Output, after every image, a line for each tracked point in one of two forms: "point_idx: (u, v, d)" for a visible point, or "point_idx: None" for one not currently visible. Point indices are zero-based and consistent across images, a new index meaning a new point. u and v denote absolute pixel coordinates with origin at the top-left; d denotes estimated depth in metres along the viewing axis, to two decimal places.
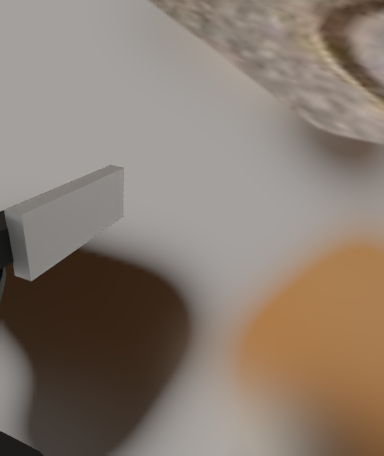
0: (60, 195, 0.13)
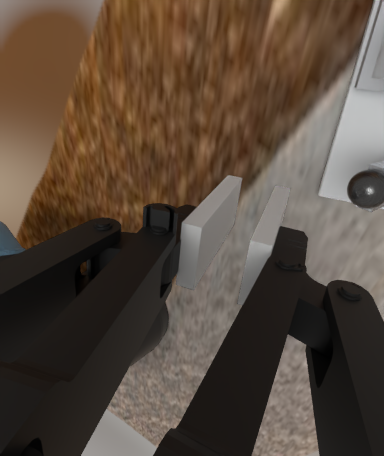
0: (215, 207, 0.13)
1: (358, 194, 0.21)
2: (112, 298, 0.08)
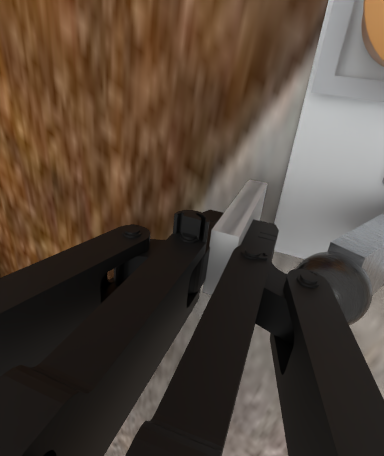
0: (242, 213, 0.13)
1: None
2: (137, 306, 0.08)
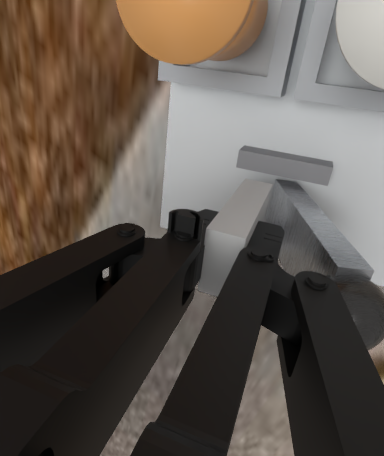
0: (237, 212, 0.13)
1: None
2: (132, 305, 0.08)
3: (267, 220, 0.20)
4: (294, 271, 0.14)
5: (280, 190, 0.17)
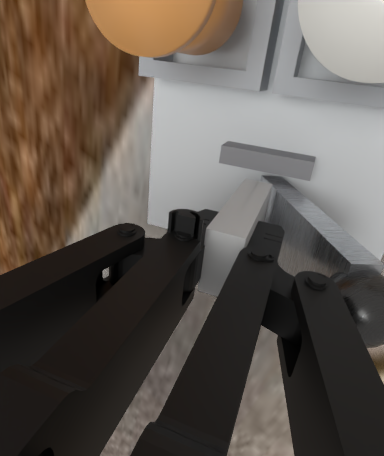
0: (237, 212, 0.13)
1: (380, 339, 0.10)
2: (132, 305, 0.08)
3: None
4: (294, 268, 0.14)
5: None
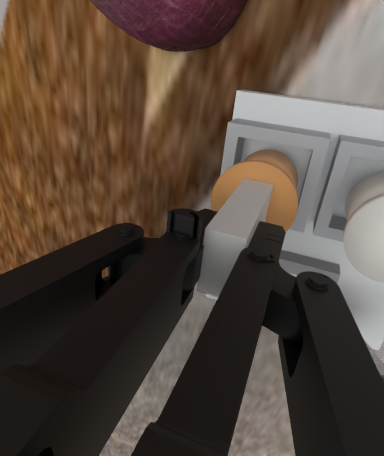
0: (236, 211, 0.13)
1: None
2: (132, 304, 0.08)
3: None
4: None
5: None
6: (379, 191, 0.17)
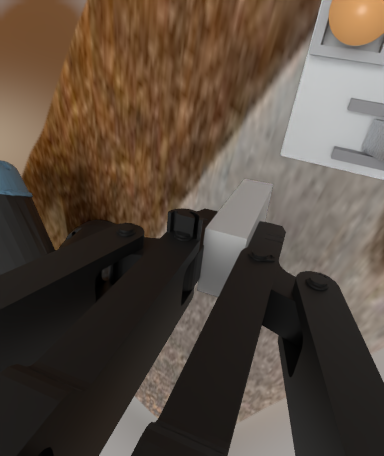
0: (236, 211, 0.13)
1: None
2: (132, 304, 0.08)
3: (365, 146, 0.31)
4: None
5: (383, 123, 0.29)
6: None
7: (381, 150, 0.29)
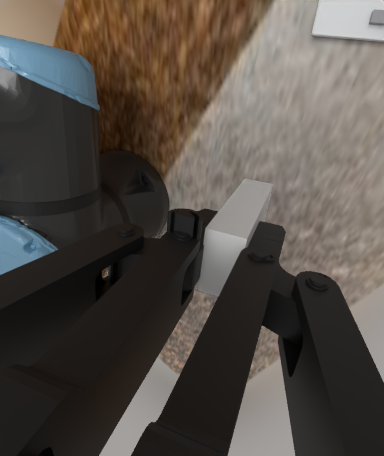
0: (236, 211, 0.13)
1: None
2: (132, 305, 0.08)
3: None
4: None
5: None
6: None
7: None
